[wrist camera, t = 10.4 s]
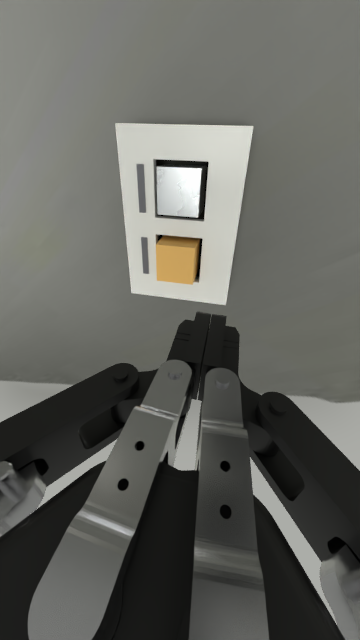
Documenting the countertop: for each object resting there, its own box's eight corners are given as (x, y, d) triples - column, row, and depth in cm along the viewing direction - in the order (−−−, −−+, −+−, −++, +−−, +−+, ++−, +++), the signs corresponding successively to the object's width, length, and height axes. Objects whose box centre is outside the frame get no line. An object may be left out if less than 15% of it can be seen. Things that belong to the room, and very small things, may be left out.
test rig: (135, 126, 31) (114, 122, 26) (251, 129, 29) (253, 126, 24) (144, 276, 42) (131, 293, 37) (227, 285, 40) (225, 305, 35)
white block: (166, 163, 30) (156, 166, 27) (206, 165, 29) (201, 168, 26) (167, 206, 33) (157, 214, 29) (203, 209, 32) (198, 217, 29)
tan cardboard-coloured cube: (165, 233, 34) (155, 244, 30) (200, 237, 33) (194, 248, 30) (165, 267, 37) (156, 280, 33) (197, 270, 36) (192, 284, 32)
